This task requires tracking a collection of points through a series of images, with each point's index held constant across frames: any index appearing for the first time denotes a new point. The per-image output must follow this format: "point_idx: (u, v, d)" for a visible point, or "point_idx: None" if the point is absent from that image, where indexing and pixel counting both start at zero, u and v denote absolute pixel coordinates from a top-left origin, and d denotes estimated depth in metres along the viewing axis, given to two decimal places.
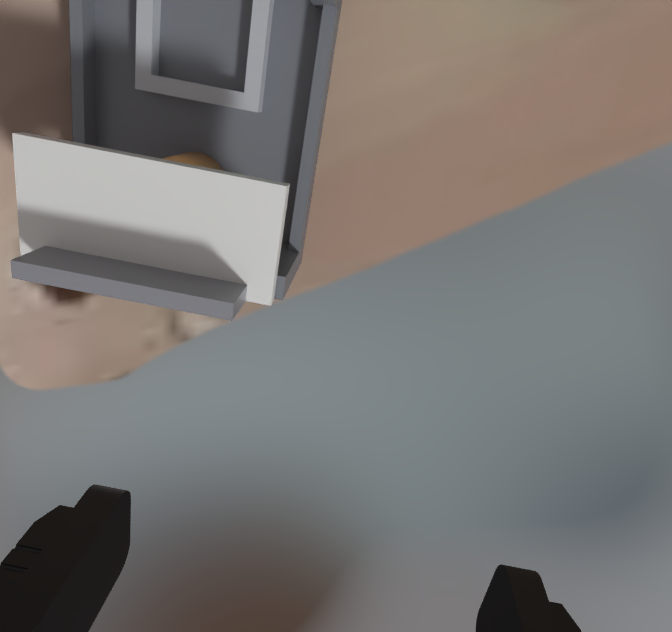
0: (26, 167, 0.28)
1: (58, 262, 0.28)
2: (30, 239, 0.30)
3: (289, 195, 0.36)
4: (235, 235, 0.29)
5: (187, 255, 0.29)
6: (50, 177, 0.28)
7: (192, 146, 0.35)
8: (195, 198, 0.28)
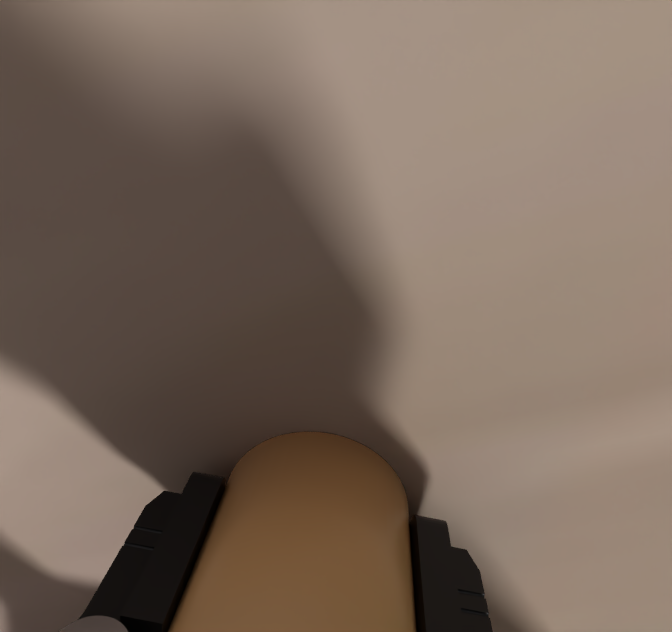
0: None
1: None
2: None
3: None
4: None
5: None
6: None
7: None
8: None
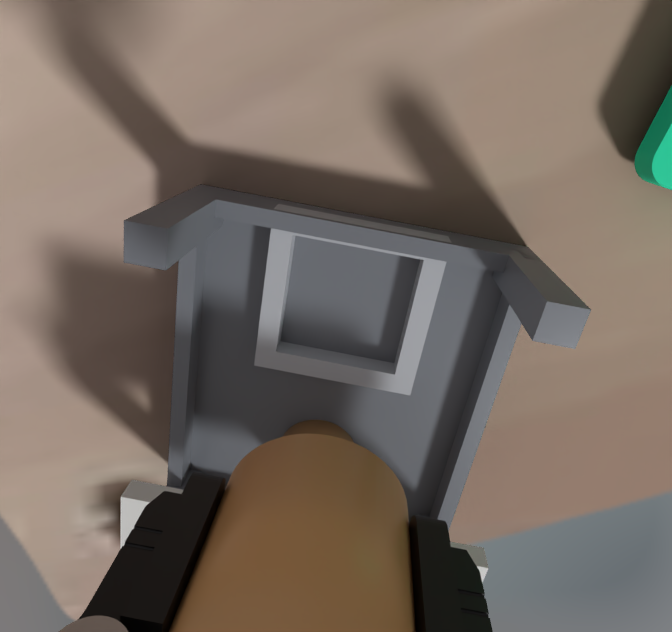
0: None
1: None
2: None
3: (433, 467, 0.29)
4: None
5: None
6: None
7: (315, 413, 0.28)
8: None
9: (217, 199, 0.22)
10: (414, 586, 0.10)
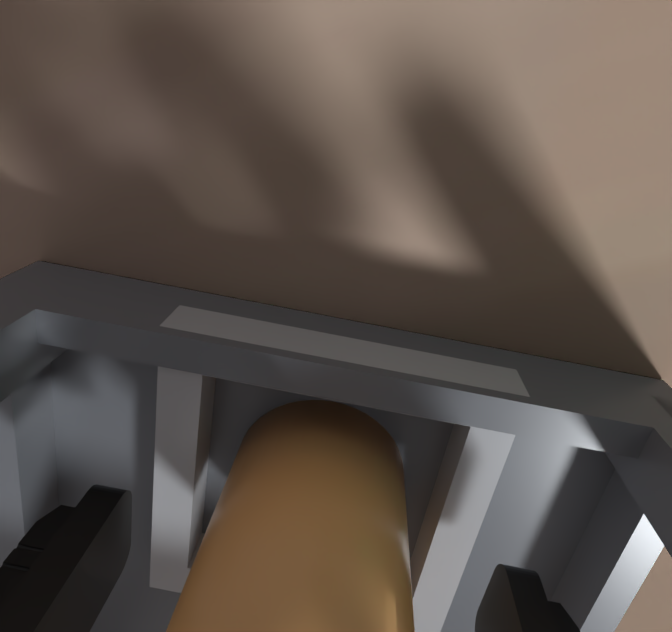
0: None
1: None
2: None
3: None
4: None
5: None
6: None
7: None
8: None
9: (40, 308, 0.11)
10: None
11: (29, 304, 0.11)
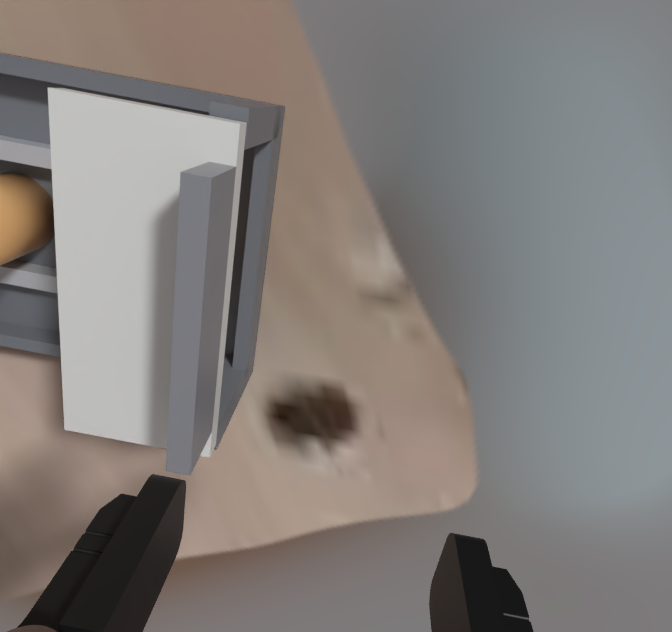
0: (99, 424, 0.24)
1: None
2: None
3: None
4: (134, 174, 0.19)
5: (176, 250, 0.20)
6: (105, 402, 0.23)
7: None
8: (93, 228, 0.20)
9: None
10: (456, 608, 0.10)
11: None
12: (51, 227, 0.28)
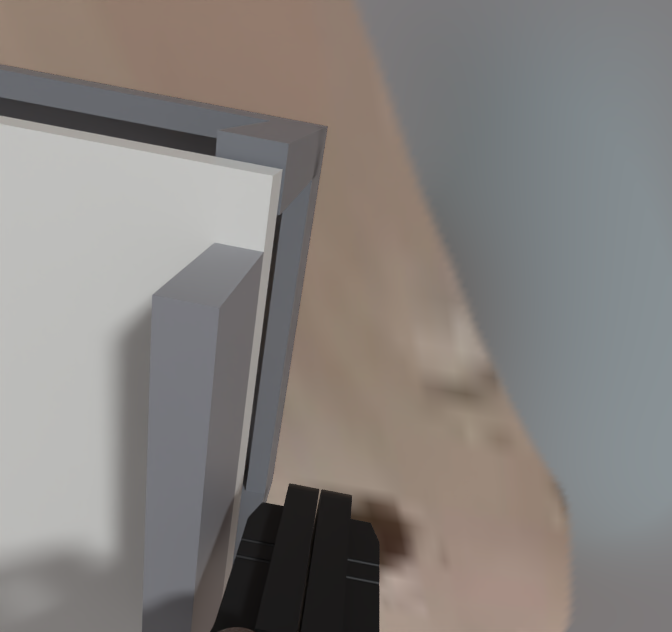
0: (40, 626, 0.15)
1: None
2: None
3: (175, 144, 0.18)
4: (79, 262, 0.11)
5: None
6: (48, 597, 0.15)
7: None
8: (11, 349, 0.12)
9: None
10: (310, 556, 0.10)
11: None
12: None
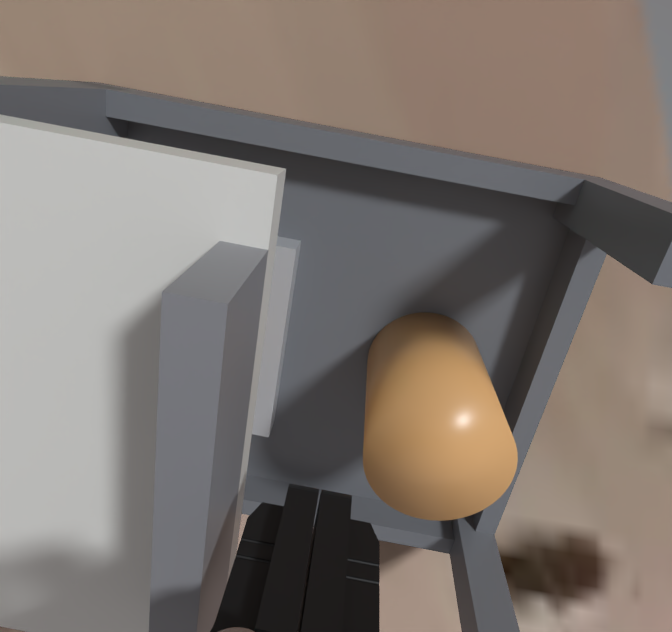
0: (45, 621, 0.15)
1: None
2: None
3: (454, 196, 0.18)
4: (86, 260, 0.11)
5: None
6: (53, 592, 0.15)
7: (357, 362, 0.20)
8: (18, 346, 0.12)
9: None
10: (310, 556, 0.10)
11: None
12: None
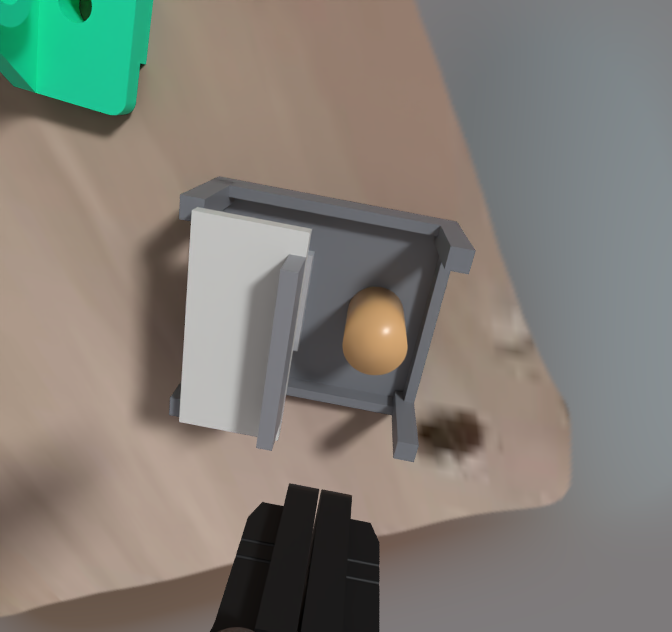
0: (203, 418, 0.35)
1: None
2: None
3: (387, 230, 0.38)
4: (241, 261, 0.31)
5: (264, 306, 0.32)
6: (208, 403, 0.35)
7: (342, 312, 0.40)
8: (211, 292, 0.32)
9: None
10: (310, 556, 0.10)
11: None
12: None
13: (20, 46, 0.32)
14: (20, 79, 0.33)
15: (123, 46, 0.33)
